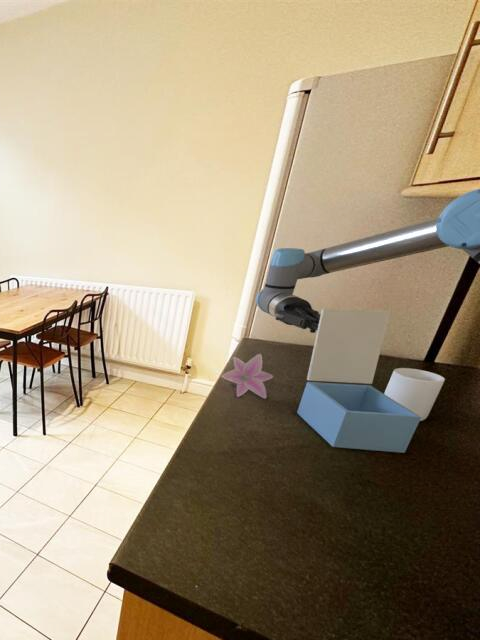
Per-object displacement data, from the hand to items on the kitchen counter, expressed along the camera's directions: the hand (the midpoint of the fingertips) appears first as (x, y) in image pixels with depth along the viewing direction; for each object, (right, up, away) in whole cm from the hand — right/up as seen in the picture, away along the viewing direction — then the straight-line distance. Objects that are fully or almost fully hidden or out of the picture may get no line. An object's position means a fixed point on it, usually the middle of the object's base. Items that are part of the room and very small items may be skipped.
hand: (336, 333), depth 97 cm
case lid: (-1, -4, -4) cm, 6 cm away
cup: (+18, -19, +3) cm, 26 cm away
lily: (-12, -14, +15) cm, 24 cm away
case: (-3, -23, -5) cm, 23 cm away
